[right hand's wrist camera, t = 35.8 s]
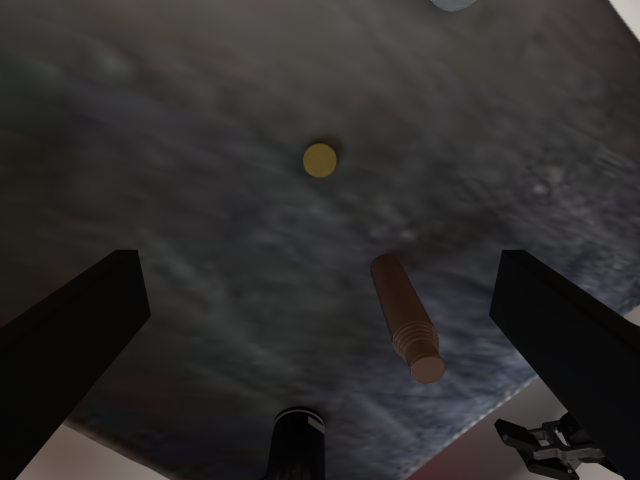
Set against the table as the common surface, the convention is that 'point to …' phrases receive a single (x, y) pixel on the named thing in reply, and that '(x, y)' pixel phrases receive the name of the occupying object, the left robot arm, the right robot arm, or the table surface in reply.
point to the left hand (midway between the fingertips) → (524, 399)
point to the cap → (319, 160)
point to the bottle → (407, 320)
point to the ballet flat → (452, 4)
